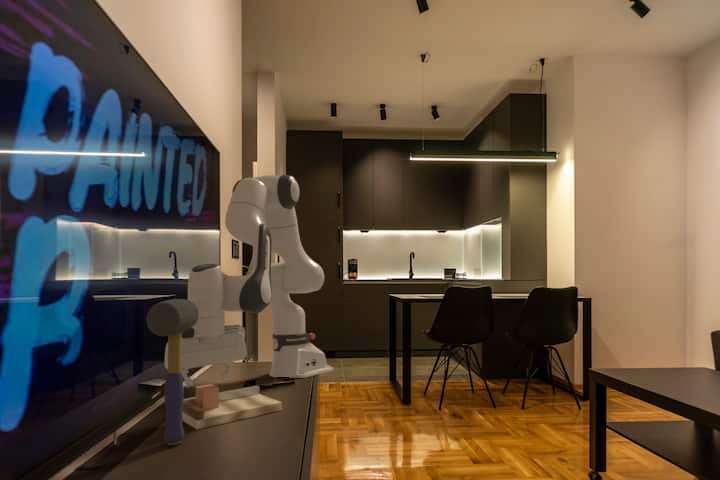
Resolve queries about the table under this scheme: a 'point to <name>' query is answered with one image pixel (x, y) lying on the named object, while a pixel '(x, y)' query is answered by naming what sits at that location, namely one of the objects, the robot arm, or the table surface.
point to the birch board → (229, 411)
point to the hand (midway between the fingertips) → (207, 383)
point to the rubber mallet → (173, 357)
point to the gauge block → (207, 397)
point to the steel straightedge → (231, 394)
